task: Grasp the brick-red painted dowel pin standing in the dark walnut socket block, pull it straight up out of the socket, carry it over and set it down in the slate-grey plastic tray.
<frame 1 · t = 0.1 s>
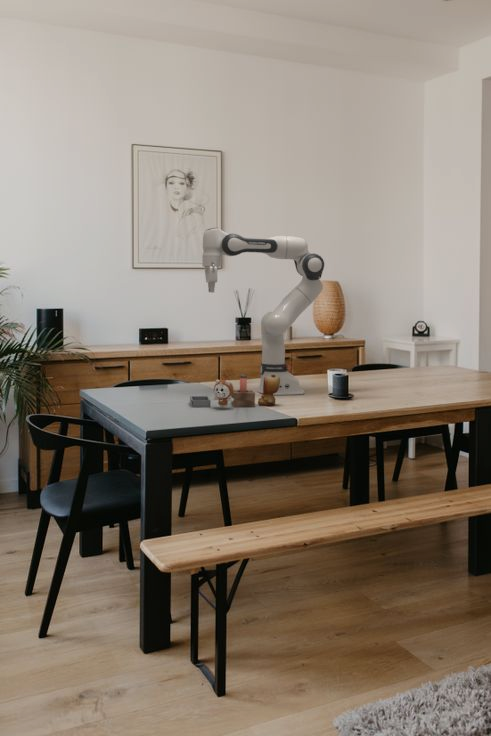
hand: (211, 292, 327), 48 cm above the table, fingers open, 8 cm apart
pin: (243, 390, 298), in the hitch block
figurine: (268, 405, 302), on the table
tray: (199, 404, 298), on the table
figurine 2: (222, 408, 290), on the table
hitch block: (242, 405, 299), on the table
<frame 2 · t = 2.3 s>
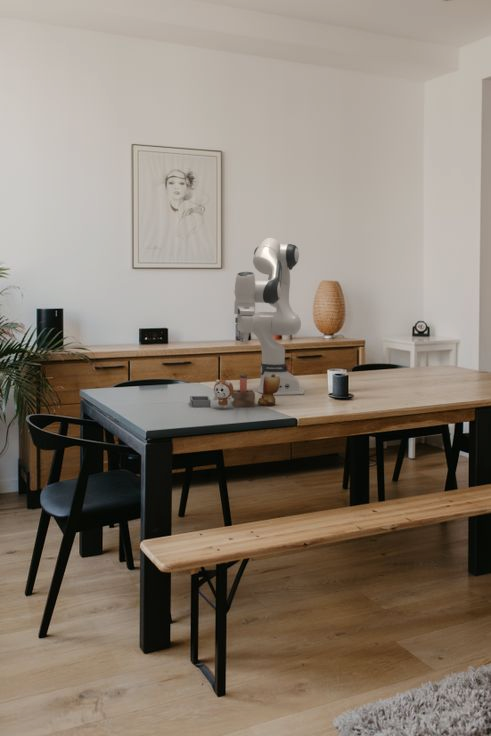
hand: (244, 342, 296), 27 cm above the table, fingers open, 8 cm apart
nothing on the table moved.
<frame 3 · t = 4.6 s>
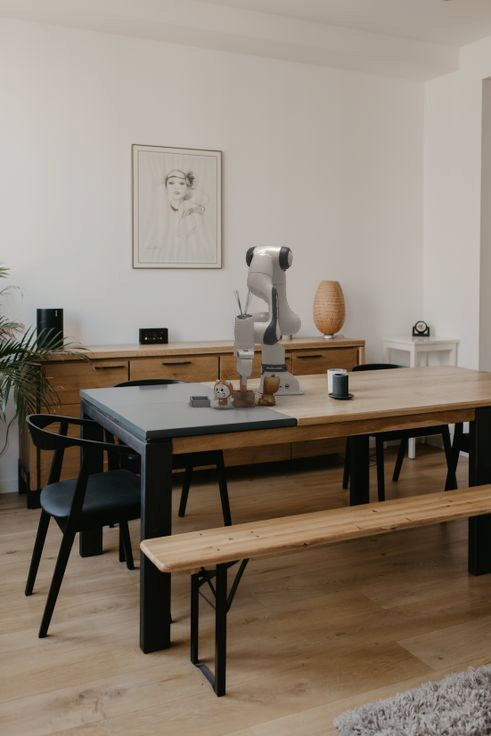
hand: (243, 384, 298), 9 cm above the table, fingers closed on pin, 3 cm apart
pin: (243, 390, 298), in the hitch block, touching gripper
everything else where it was.
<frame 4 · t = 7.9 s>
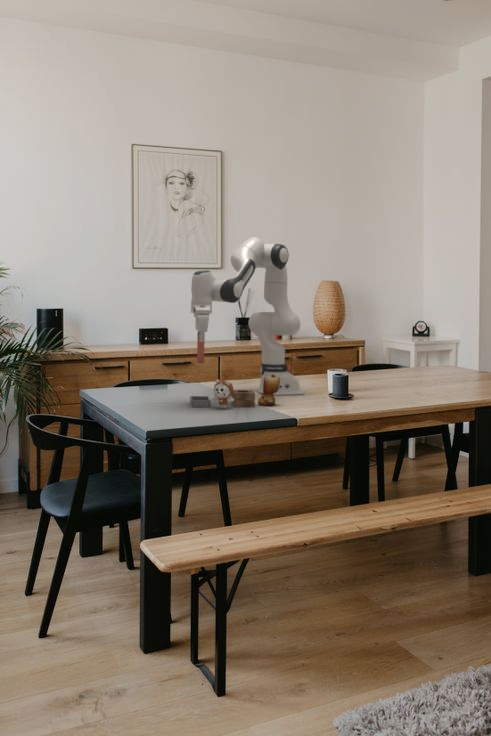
hand: (200, 341, 294), 27 cm above the table, fingers closed on pin, 3 cm apart
pin: (200, 347, 295), point 25 cm above the table, touching gripper
everything else where it was.
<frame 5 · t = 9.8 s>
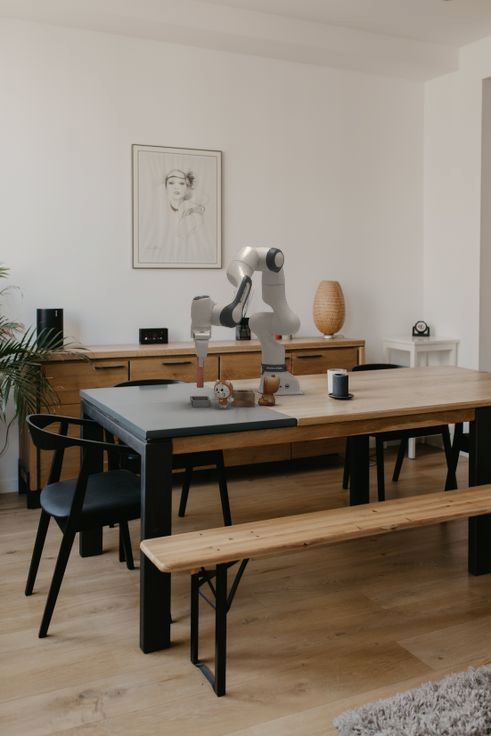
hand: (200, 366, 296), 17 cm above the table, fingers closed on pin, 3 cm apart
pin: (200, 372, 296), point 14 cm above the table, touching gripper
everything else where it was.
when the fingers open (11 cm above the table, at t = 11.2 s): pin drops 1 cm, resting on tray.
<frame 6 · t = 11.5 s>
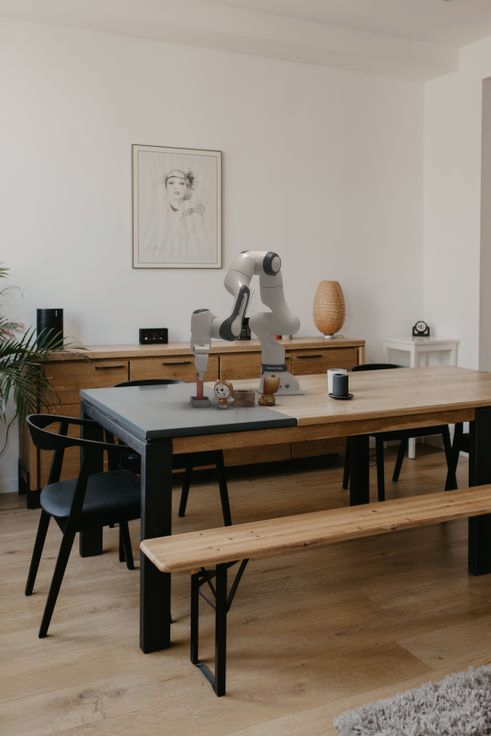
hand: (200, 379, 296), 11 cm above the table, fingers open, 6 cm apart
pin: (199, 388, 297), in the tray, point 7 cm above the table
everything else where it was.
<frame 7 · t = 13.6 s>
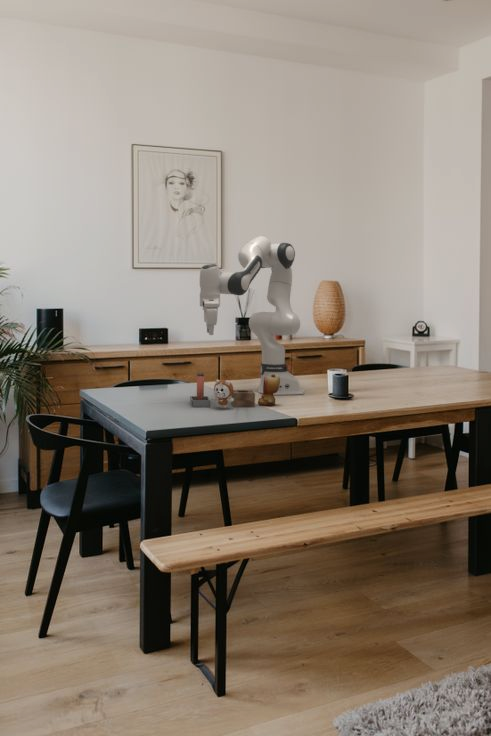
hand: (210, 333, 303), 30 cm above the table, fingers open, 8 cm apart
nothing on the table moved.
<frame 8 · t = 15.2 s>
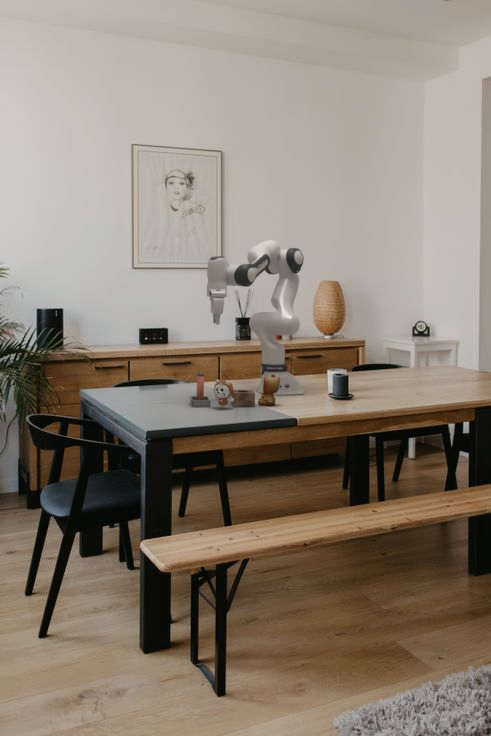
hand: (216, 323, 309), 34 cm above the table, fingers open, 8 cm apart
nothing on the table moved.
at the end: pin inside the target area on the tray (0.1 cm from its centre), point 7.1 cm above the tray's base; pin moved 18.5 cm from its start; the gripper is holding nothing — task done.
